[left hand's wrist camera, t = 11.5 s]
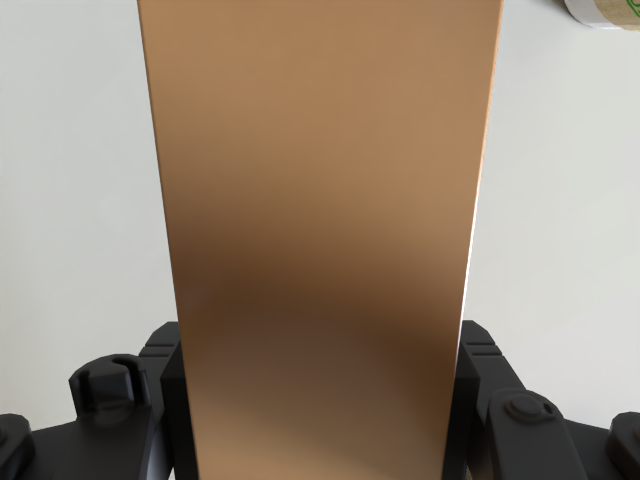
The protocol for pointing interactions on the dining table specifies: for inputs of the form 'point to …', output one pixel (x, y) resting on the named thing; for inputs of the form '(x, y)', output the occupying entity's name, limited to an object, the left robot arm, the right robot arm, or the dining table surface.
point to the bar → (320, 223)
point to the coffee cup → (607, 13)
